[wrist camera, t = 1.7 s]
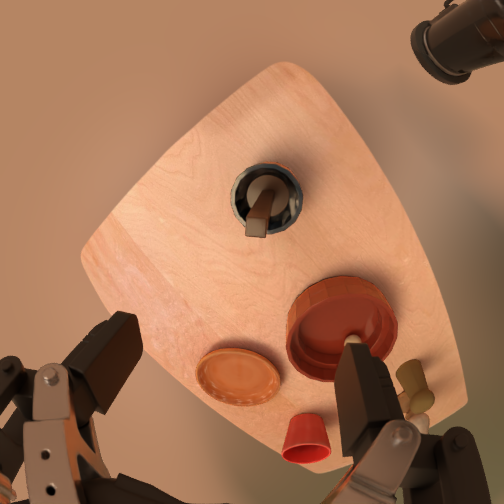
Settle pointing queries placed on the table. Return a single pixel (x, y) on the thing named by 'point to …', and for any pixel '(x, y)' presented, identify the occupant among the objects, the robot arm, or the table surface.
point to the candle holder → (417, 419)
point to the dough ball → (352, 339)
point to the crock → (275, 222)
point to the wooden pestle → (265, 202)
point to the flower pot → (306, 440)
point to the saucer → (238, 377)
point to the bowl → (337, 324)
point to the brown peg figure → (415, 386)
